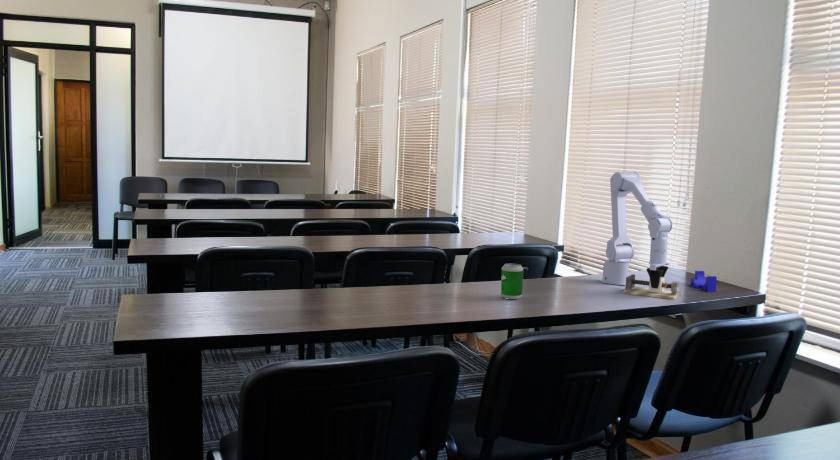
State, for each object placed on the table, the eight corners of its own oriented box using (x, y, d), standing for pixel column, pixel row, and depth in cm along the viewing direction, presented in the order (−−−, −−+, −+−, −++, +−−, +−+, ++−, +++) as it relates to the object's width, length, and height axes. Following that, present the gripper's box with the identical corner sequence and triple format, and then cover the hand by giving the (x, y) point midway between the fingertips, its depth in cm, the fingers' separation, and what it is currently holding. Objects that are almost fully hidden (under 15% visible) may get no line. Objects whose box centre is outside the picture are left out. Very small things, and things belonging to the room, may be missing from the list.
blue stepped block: (690, 285, 257) (691, 270, 256) (701, 285, 257) (702, 270, 256) (703, 292, 245) (704, 276, 245) (715, 292, 245) (716, 276, 245)
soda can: (524, 297, 234) (525, 264, 232) (518, 301, 227) (519, 267, 225) (504, 295, 237) (505, 262, 235) (498, 299, 230) (498, 265, 228)
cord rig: (623, 293, 242) (624, 277, 241) (631, 288, 250) (631, 273, 249) (674, 299, 232) (675, 283, 231) (680, 294, 240) (681, 279, 239)
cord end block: (648, 291, 239) (649, 278, 238) (652, 289, 243) (653, 276, 242) (660, 293, 237) (660, 279, 236) (663, 290, 241) (664, 277, 240)
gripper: (665, 253, 230) (662, 291, 231) (674, 248, 241) (672, 284, 243) (644, 251, 233) (642, 289, 235) (655, 247, 245) (653, 282, 247)
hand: (656, 286), depth 239 cm, fingers closed on cord end block, 5 cm apart
